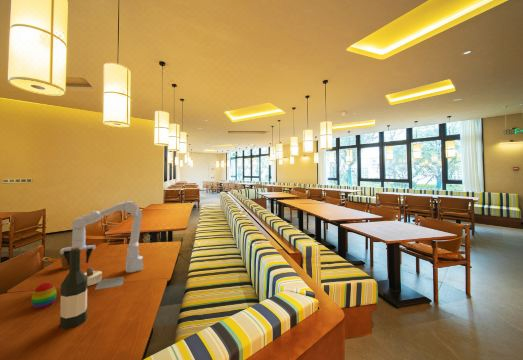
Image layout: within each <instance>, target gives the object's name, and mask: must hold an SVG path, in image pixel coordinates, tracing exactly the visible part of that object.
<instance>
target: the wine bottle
mask: <svg viewBox="0 0 523 360" xmlns="http://www.w3.org/2000/svg"><path fill="white" fill-rule="evenodd" d="M81 251H82V250H81V249H79V247H75V248H72V249H71V250H70V261H69V269H68V270H69V271H68V273H67V275H66V277H65V278H64V280H63V281H62V282H61V284H60V309H59V310H60V314H59V315H60V316H59V317H60V318H59V319H60V320H59V323H60V324H59V327H60V328H62V329H64V330H68V329H72V328H77V327H78V326H80V325H82V324H85V322H86V321H87V319H88V313H87V312H88V286H87V279H88V278H87V277H86V275H85V274H84V273H85V272H83V271H82V269H81Z"/></svg>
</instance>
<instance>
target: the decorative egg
mask: <svg viewBox="0 0 523 360" xmlns="http://www.w3.org/2000/svg"><path fill="white" fill-rule="evenodd" d="M57 292H58V291H57V288H56V287H55V285H54V284H52V283H50V282H43V283H41V284H39V285H38V286H37V287H36V288H35V289H34V291H33V293H32V295H31V304H32V306H33V307H34V308H35V309H44V308H47V307H50V306H51V305H52V304H53V303H54V302H55V300H56V298H57V294H58V293H57Z"/></svg>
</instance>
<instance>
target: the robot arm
mask: <svg viewBox="0 0 523 360" xmlns="http://www.w3.org/2000/svg"><path fill="white" fill-rule="evenodd" d="M118 211H119V212H124V211H125V212H127V213H129V214H131V216H133V217H132V224H131V230H130V231H131V232H130V237H129V243H128V245H127V248H126V253H127V256H126V257H125V273H134V272H139V271H143V269H144V263H143V262H144V261H143V259H144V256H143V255H140V250H139V240H140V233H141V225H142V218H143V212H142V210H141V209H140V208H139V206H138V204H136V203H135V202H134V201H132V200H126V201H123V202H119V203H117V204H114V205H112V206H109V207H107V208H104V209H103V210H100V211H99V210H91V211H90V212H89V213H87V214H82V215H81V216H78V217H76V218H74V219H73V221H72V223H71V225H72V233H71V234H72V235H71V238H72V239H71V246H67V247H68V248H67V247H63V248H61V249H60V250H61V253H64V254H63V255H64V256H65V258H66V260H67V262H68V265H69V261H70V250H71V249H72V248H75V247H79V249H81V251H85V256H86V259H85V264H88V263H89V262H90V261H89V260H90V257H91V254H92V252H93V250H95V249H96V244H91V245H90V244H89V245H87V244H86V241H87V239H86V236H87V235H86V233H87V232H86V231H87V230H86V225H91V224H93V223H96V222H98V221H100V220H102V218H103V217H104V216H107V215H109V214H112V213H115V212H118Z"/></svg>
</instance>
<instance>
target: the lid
mask: <svg viewBox="0 0 523 360" xmlns="http://www.w3.org/2000/svg"><path fill="white" fill-rule="evenodd" d="M83 273H84V274H85V275H86V277H87V278H88V279H87V281H89V280H93V279H96V278H98V277H100V276H102V275H103V272H102V270H94V267H87V268H86V272H83Z"/></svg>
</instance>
